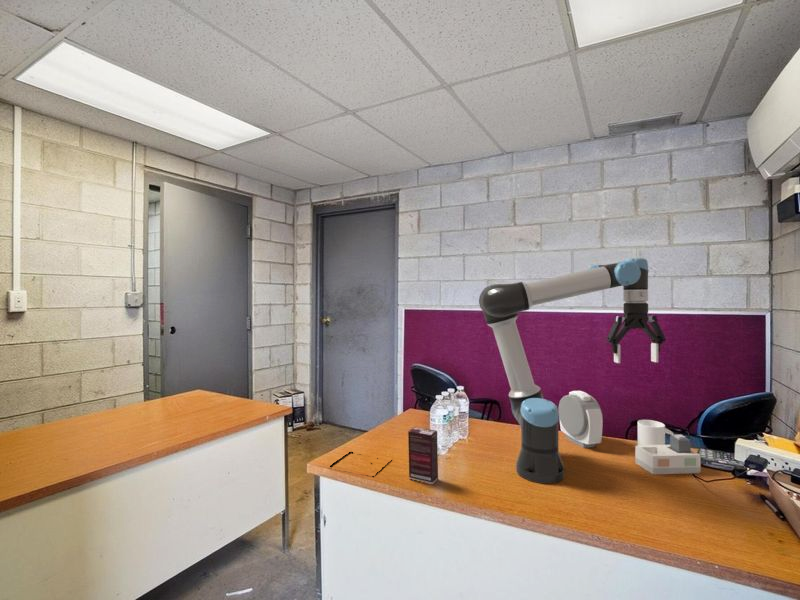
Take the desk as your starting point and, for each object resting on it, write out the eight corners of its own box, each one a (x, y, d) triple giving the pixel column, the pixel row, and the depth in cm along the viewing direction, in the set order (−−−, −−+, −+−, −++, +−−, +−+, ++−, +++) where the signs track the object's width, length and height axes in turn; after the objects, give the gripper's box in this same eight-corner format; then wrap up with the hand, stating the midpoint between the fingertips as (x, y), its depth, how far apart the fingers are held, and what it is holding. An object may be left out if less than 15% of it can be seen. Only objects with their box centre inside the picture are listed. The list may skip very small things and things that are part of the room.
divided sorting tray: (653, 474, 128) (653, 456, 127) (635, 462, 137) (635, 445, 137) (701, 473, 128) (701, 455, 128) (680, 461, 137) (679, 444, 137)
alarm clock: (605, 449, 148) (605, 396, 148) (586, 452, 146) (586, 398, 146) (573, 433, 166) (573, 385, 165) (556, 435, 164) (555, 387, 163)
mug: (678, 459, 139) (678, 429, 139) (639, 454, 144) (639, 425, 143) (673, 450, 147) (673, 422, 146) (636, 446, 151) (636, 418, 151)
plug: (670, 459, 135) (670, 433, 134) (681, 458, 135) (681, 433, 135) (678, 464, 131) (678, 438, 130) (690, 464, 131) (690, 437, 131)
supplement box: (438, 479, 127) (438, 430, 127) (432, 485, 123) (432, 435, 122) (414, 473, 131) (414, 426, 131) (408, 479, 127) (407, 430, 127)
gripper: (607, 303, 134) (607, 364, 135) (677, 302, 135) (678, 363, 136) (595, 302, 142) (595, 361, 142) (662, 301, 143) (662, 359, 143)
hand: (635, 362), depth 139 cm, fingers open, 13 cm apart
